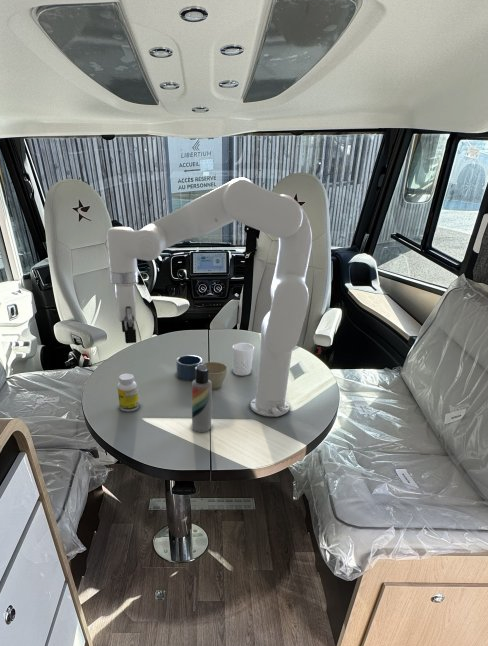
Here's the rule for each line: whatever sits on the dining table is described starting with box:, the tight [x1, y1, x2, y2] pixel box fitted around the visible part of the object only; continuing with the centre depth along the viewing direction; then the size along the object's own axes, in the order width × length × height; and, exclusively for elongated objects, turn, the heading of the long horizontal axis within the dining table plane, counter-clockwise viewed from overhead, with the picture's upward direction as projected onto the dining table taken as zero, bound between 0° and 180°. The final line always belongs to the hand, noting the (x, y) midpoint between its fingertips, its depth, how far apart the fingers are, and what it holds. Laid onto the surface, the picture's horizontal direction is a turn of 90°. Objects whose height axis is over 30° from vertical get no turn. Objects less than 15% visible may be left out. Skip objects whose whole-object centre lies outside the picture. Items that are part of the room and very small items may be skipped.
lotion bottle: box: [191, 363, 213, 433], centre depth 129 cm, size 6×6×20 cm
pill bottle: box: [117, 373, 139, 412], centre depth 142 cm, size 6×6×11 cm
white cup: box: [232, 342, 255, 377], centre depth 165 cm, size 8×8×10 cm
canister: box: [175, 354, 203, 381], centre depth 164 cm, size 9×9×6 cm
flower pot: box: [202, 361, 228, 390], centre depth 156 cm, size 10×10×7 cm
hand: (129, 337), depth 134 cm, fingers open, 9 cm apart
